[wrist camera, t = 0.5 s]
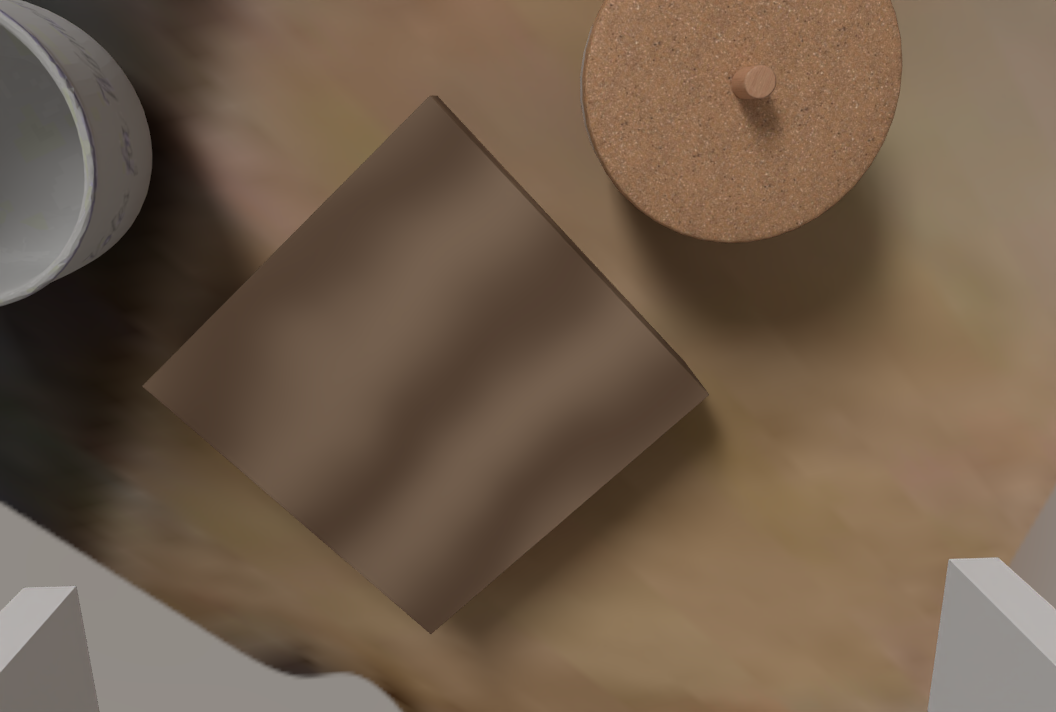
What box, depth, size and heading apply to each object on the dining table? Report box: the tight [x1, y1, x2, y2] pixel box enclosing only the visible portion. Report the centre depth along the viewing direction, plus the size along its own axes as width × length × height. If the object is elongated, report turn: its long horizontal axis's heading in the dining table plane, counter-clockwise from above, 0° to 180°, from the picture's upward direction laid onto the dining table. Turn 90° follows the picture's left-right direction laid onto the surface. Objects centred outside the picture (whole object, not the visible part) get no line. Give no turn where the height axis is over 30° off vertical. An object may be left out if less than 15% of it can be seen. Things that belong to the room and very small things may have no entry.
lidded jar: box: [580, 0, 902, 243], centre depth 31 cm, size 11×11×9 cm
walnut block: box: [142, 96, 709, 634], centre depth 37 cm, size 16×16×5 cm
